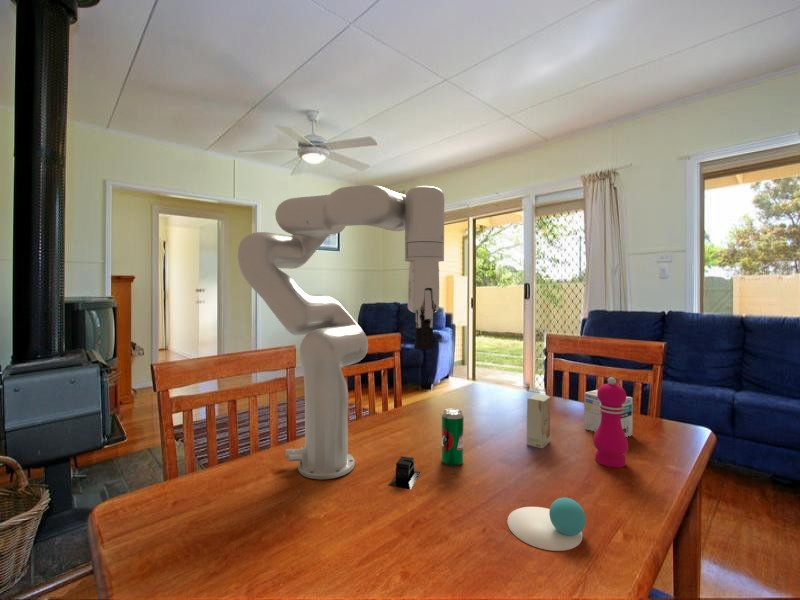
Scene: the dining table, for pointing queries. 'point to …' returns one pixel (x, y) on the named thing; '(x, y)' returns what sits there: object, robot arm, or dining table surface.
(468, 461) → the dining table surface
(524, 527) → the white rounded object
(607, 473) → the dining table surface
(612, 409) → the pepper mill
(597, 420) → the light bulb box
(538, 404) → the skincare box
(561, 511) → the ball
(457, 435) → the soda can
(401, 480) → the black box
